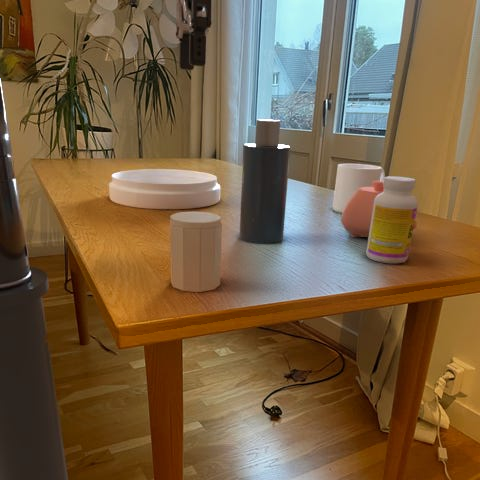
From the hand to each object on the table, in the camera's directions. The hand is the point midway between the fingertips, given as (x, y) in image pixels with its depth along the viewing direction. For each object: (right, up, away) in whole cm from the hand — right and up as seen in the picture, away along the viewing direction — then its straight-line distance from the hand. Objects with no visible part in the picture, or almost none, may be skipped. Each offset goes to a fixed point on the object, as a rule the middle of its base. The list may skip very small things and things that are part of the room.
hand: (191, 67), depth 71 cm
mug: (+36, -12, +43) cm, 57 cm away
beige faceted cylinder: (+1, -33, -7) cm, 33 cm away
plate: (-11, -8, +47) cm, 49 cm away
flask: (+11, -23, +16) cm, 30 cm away
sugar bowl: (+34, -22, +21) cm, 45 cm away
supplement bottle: (+31, -28, +7) cm, 43 cm away
